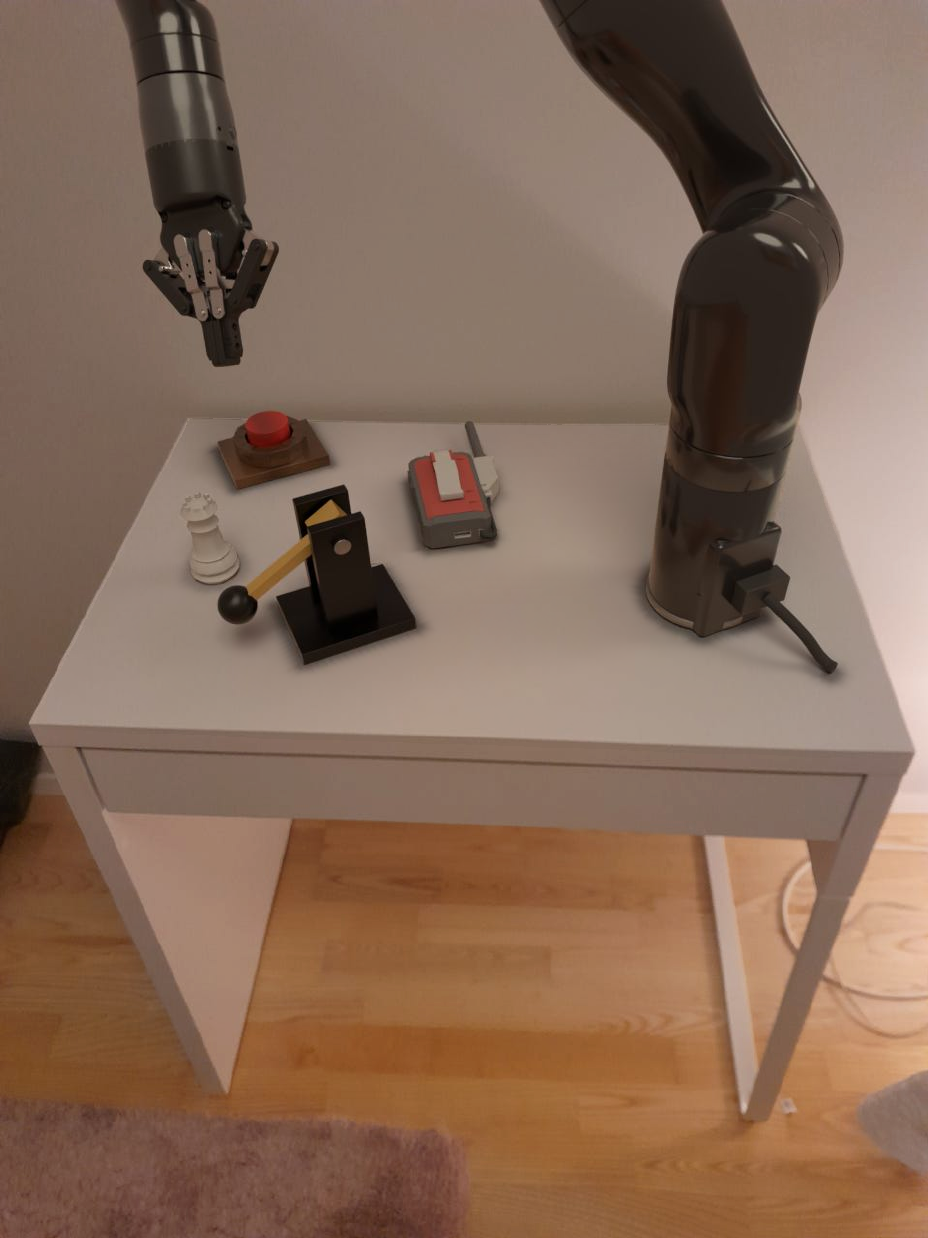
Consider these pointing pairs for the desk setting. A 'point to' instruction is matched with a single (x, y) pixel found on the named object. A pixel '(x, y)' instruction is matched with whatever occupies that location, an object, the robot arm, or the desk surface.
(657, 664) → the desk surface
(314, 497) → the black lever base
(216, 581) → the rook chess piece
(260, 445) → the button
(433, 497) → the walkie-talkie
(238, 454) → the block
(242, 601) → the lever
